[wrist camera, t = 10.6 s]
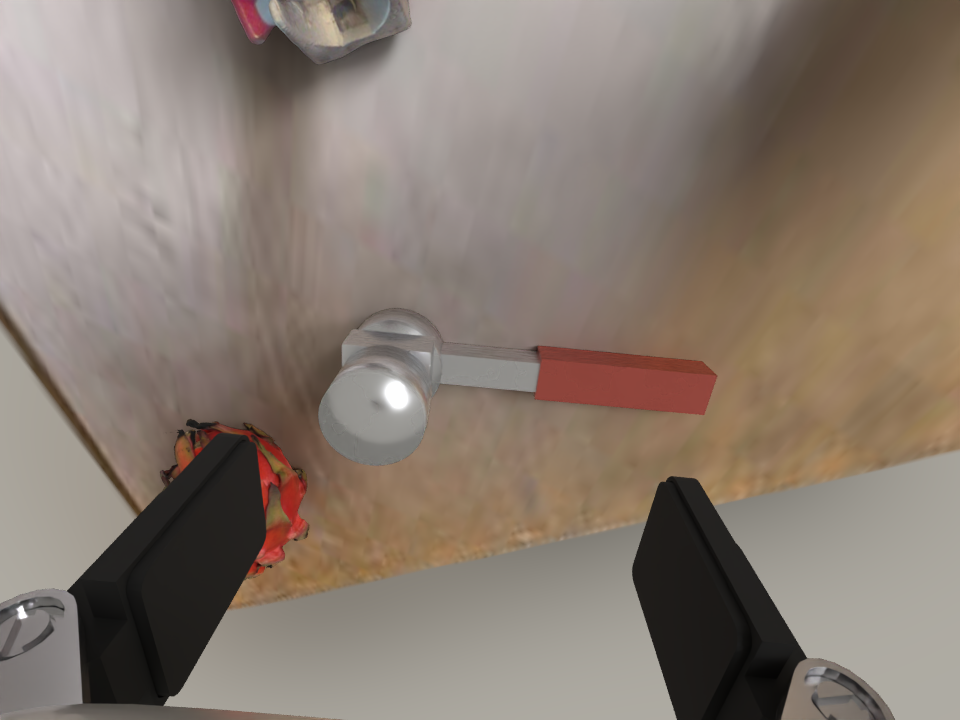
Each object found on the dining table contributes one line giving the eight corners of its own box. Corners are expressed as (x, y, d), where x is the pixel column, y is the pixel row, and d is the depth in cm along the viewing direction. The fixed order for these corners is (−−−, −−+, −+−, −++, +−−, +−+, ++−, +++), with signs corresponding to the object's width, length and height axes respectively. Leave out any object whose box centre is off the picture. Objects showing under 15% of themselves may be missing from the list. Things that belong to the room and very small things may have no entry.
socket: (438, 333, 28) (428, 378, 22) (433, 411, 30) (422, 469, 24) (349, 325, 28) (316, 368, 22) (349, 403, 30) (320, 460, 24)
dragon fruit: (295, 521, 39) (240, 386, 36) (356, 544, 34) (297, 387, 31) (187, 594, 33) (110, 439, 30) (239, 637, 27) (152, 452, 25)
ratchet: (709, 339, 31) (749, 371, 26) (684, 418, 33) (716, 461, 29) (353, 303, 30) (330, 331, 25) (353, 388, 32) (332, 427, 28)
